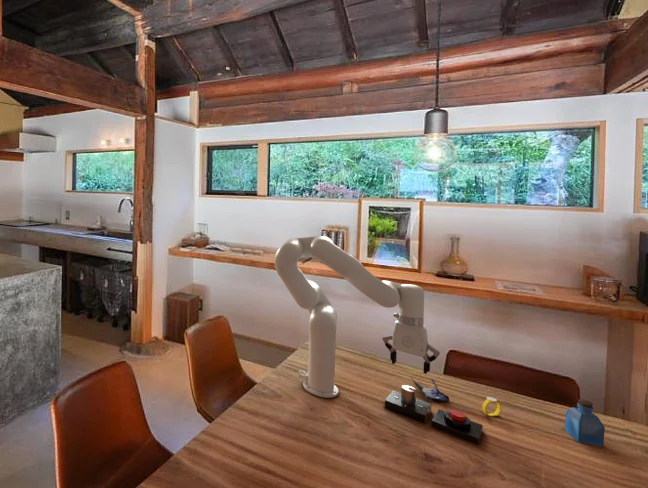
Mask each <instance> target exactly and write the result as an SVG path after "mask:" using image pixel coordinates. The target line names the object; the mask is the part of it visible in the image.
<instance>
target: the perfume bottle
mask: <svg viewBox="0 0 648 488" xmlns="http://www.w3.org/2000/svg"><path fill="white" fill-rule="evenodd" d="M577 400H578V402H577V404H576V405H577V407H574V406H572V407H571V408H569V409H568V410H566V411H565V418H564V431H565V432H566V433H567V434H569V435H570V437H572V438H573V439H574V440H575V441H576V442H578V443H582V444H588V445H593V446H598V447H604V444H605V429H606V427H605V425H604V424H603V422H602V421H601V419H600V418H599V416H598V415H597V414H595V413H593V412H594V407H593V406H594V404H593V402H592V401H589V400H586V399H582V398H578V399H577Z"/></svg>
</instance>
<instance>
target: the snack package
mask: <svg viewBox="0 0 648 488" xmlns="http://www.w3.org/2000/svg"><path fill="white" fill-rule="evenodd" d="M410 378H411V380H412V381H413V384H414V385H415V386H416V388H417V390H419V392H420V393H422V394H423V395H424V396H425V398H427V400H436V401H437V402H438V403H439V402H441V403H445V402H450V397H449V396H448V395H446V394H444V393H443V392H441V391H440V390H439V388H438V385H437V384H436V382H435V380H434V379H431V380H430V378H429V379H428V380H430V381H431V382H432V384H433V385H434V387H435V388H432V387H431V388H430V387H426V386H423V385H421V383H422V382H421V381H419V383H418V382H416V380H414V378H413V377H412V376H410Z"/></svg>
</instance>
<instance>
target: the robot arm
mask: <svg viewBox="0 0 648 488" xmlns="http://www.w3.org/2000/svg"><path fill="white" fill-rule="evenodd" d="M304 258H306V259H307V258H314V259H316V260H317V261H319V262H320V263H321V264H323V265H324V266H326V267H328V268H329V269H330V270H332V271H333V272H334V273H337V274H338V275H339V276H341V277H342V278H344V279H345V280H346V282H348V283H349V284H350V285H352V286H353V287H354V288H356V290H358V291H359V292H361V293H362V294H363V295H364V296H366V297H367V298H369V299H370V300H372V301H373V302H374V303H376V304H378V305H379V306H381V307H384V308H388V309H389V308H395V307H396V306H398V307H397V308H398V309H397V311H398V312H394V313H393V317H394V318H396V320H395V322H394V324H393V325H394V326H393V331H392V334H391V335H385V336H383V337H382V338H381V339H382V341H383V343H384V346H385V347H386V348H387V349H388V352H389V353H390V354H389V355H390V356H389V358H390V359H389V360H390V361H391V364H392V365H395V364H396V363H397V358H398V357H397V354H398V352H402V353H406V354H409V355H413V356H416V357H421V358H422V359H423V360H424V362H423V374H424V375H427V373H428V372H430V371H431V362H434V361H435V360H437V358H438V357H439V356H440V355H441V351H440V350H438V349H437V348H435V347H434V346H433V345H431V344H430V343H429V339H428V333H427V326H426V325H425V324H424V323H425V321H424V319H425V290H424V288H423V287H422V286H419V285H417V284H410V283H400V282H395V281H391V280H381V279H379V278H378V277H377V276H375V275H374V274H373V273H371V272H370V271H369V270H368V269H367V268H366V267H365V266H364V265H363V263H362V262H361V261H360V260H358V258H356V257H354V256H353V255H351V254H349V253H348V252H346V251H345V250H344V249H342V248H340V247H339V246H338V245H336V244H334V242H333V240H332V239H331V238H329V237H328V236H325V235H317V236H305V237H294V238H290V239H287V240H285V241H284V242H283V243H282V244H281V245H280V247H279V248H278V250H277V251H276V253H275V256H274V260H273V261H274V263H273V264H274V268H275V271H276V273H277V275H278V276H279V278H280V279H281V281H282V282H283V284H284V285H285V287H286V289H287V291H288V292H289V293H290V295H291V296H292V298H293V299H294V302H295V303H296V304H297V305H298V306H299V307H300V308H302V309H304V310H307V311H308V312H309V314H310V316H309V320H308V360H307V361H308V363H307V364H308V365H307V371H305V370H303V369H298V372H297V373H298V378H301V379H303V383H302V386H303V388H304V389H305V390H306V392H308V393H310V394H311V395H313V396H317V397H319V398H326V399H332V398H335V397H337V396H338V395H339V388H338V387H337V385H335V375H336V374H335V373H336V371H335V370H336V345H337V344H336V343H337V327H338V313H337V310H336V309H335V307H334V305H333V304H332V303H331V301H330V299H329V298H328V297H327V295H326V294H325V293H324V291H323V290H322V288H321V287H320V285H318V283H316V282H315V281H313V280H311V279H307V277H306V276H305V274H304V272H303V271H302V270H301V268H299V266H298V261H299V260H300V259H304ZM391 340H392V341H391ZM389 341H391V343H390V342H389ZM397 351H398V352H397ZM428 351H430V352H432V353H433V354H432V355H431V356H430V355H429V354H428V353H429V352H428Z"/></svg>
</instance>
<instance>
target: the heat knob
mask: <svg viewBox="0 0 648 488" xmlns="http://www.w3.org/2000/svg"><path fill="white" fill-rule="evenodd" d="M400 393H401V401H402V402H403V403H405V404H407V405H415V404H416V399H417V389H416V388H415V387H414V386H411V385H409V384H402V385H401V389H400Z"/></svg>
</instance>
